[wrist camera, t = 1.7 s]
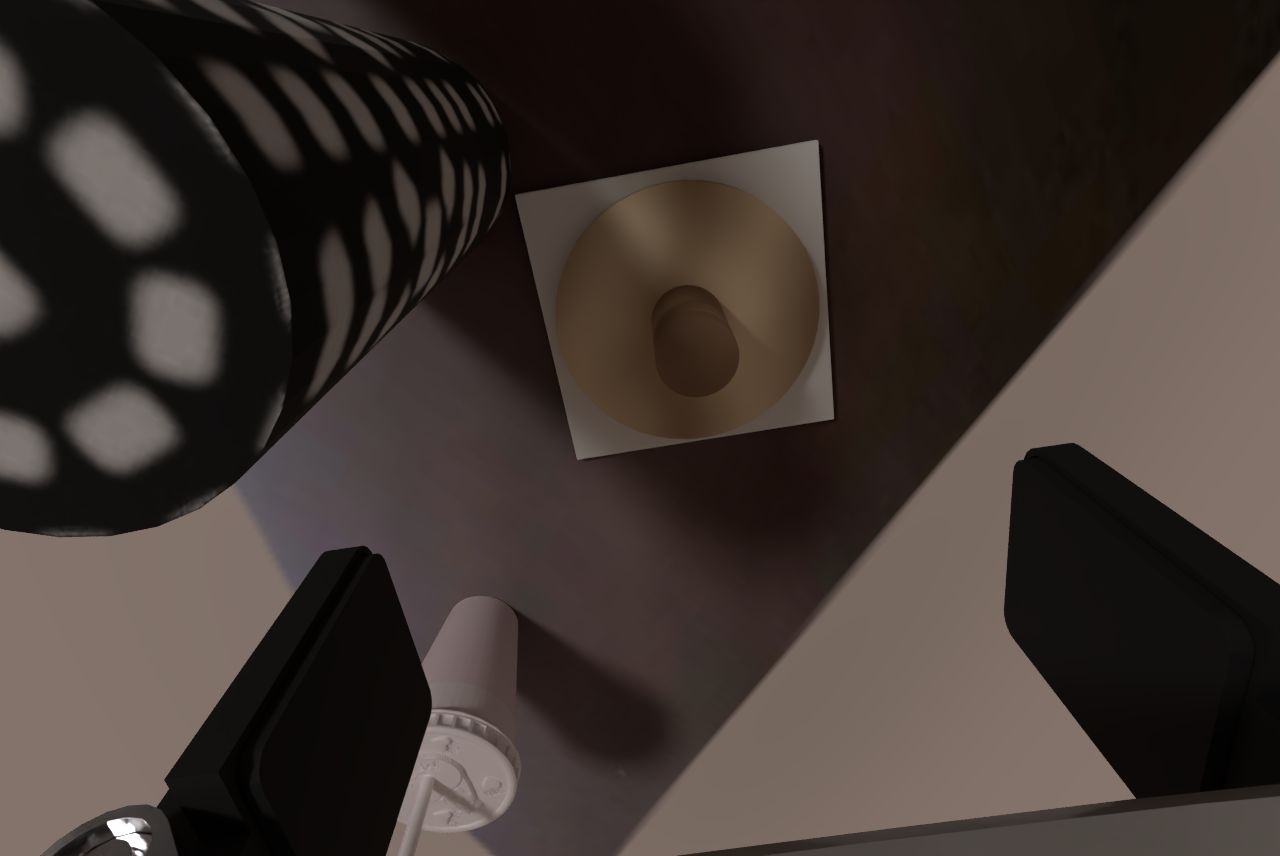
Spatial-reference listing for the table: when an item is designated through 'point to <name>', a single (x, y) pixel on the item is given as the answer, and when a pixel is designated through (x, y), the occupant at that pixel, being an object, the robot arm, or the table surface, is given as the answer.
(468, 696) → the smoothie
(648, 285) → the lid
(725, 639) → the table surface
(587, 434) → the mat
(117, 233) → the spotted tube
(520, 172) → the table surface
